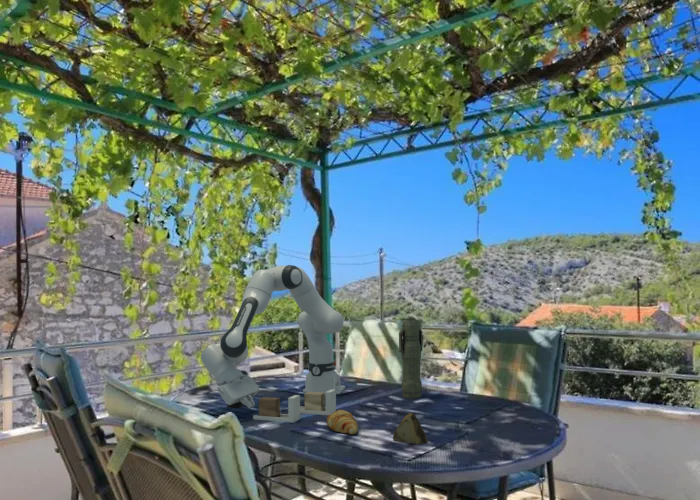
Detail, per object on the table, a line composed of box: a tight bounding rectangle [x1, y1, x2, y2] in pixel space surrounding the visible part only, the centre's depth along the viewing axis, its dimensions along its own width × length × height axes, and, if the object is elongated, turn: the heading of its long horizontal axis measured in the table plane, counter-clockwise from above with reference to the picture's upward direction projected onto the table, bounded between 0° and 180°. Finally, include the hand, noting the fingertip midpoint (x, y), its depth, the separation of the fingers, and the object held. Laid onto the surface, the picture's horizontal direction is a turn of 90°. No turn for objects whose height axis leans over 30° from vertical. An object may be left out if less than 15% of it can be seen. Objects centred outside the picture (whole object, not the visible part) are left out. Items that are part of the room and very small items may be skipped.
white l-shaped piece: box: [300, 389, 337, 416], centre depth 229 cm, size 6×17×10 cm, turn 69°
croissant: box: [326, 409, 359, 435], centre depth 207 cm, size 21×10×8 cm, turn 28°
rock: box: [392, 412, 429, 445], centre depth 191 cm, size 11×9×10 cm
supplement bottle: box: [226, 401, 244, 409], centre depth 243 cm, size 7×7×12 cm
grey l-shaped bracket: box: [252, 394, 301, 423], centre depth 219 cm, size 6×17×10 cm, turn 69°
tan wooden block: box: [304, 392, 326, 411], centre depth 229 cm, size 4×7×8 cm, turn 69°
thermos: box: [398, 317, 424, 400], centre depth 261 cm, size 9×12×35 cm
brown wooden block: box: [258, 396, 281, 417], centre depth 220 cm, size 4×7×8 cm, turn 69°
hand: (252, 406), depth 223 cm, fingers closed
